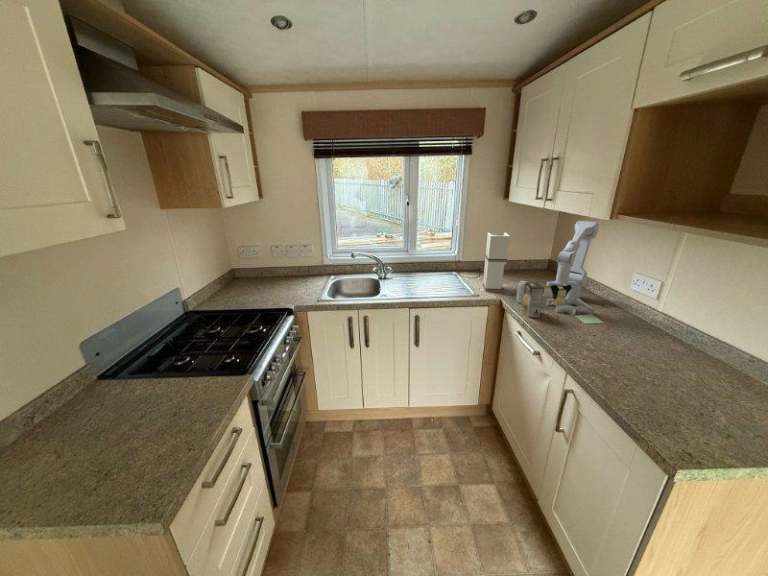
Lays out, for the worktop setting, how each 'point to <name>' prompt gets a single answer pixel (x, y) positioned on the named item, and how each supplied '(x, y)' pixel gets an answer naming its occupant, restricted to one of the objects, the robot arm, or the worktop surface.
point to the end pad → (589, 319)
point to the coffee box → (532, 299)
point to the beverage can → (520, 292)
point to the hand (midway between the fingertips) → (558, 298)
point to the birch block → (560, 297)
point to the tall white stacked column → (495, 262)
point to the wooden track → (569, 308)
